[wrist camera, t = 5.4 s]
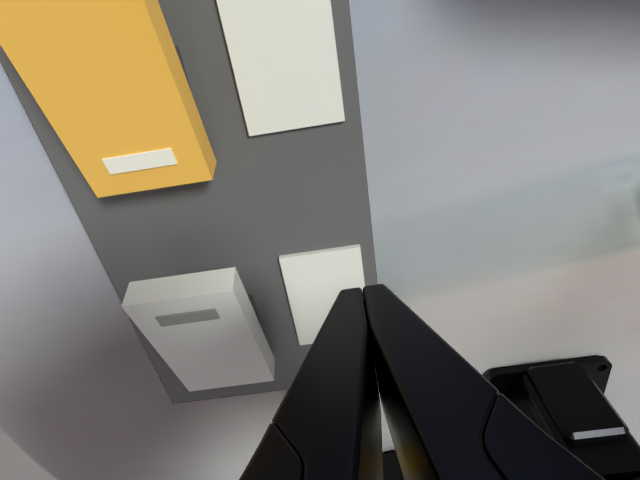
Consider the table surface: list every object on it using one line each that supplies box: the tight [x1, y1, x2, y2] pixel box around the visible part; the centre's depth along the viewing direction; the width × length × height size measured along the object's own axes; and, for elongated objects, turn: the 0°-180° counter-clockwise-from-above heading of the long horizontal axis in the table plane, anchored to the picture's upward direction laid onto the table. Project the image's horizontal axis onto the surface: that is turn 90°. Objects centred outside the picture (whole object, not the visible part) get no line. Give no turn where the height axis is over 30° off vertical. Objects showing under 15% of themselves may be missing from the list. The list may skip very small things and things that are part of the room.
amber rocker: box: [0, 0, 217, 198], centre depth 11 cm, size 6×4×1 cm, turn 8°
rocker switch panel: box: [0, 0, 377, 404], centre depth 15 cm, size 20×10×4 cm, turn 9°
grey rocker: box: [121, 267, 275, 392], centre depth 16 cm, size 6×4×1 cm, turn 8°
